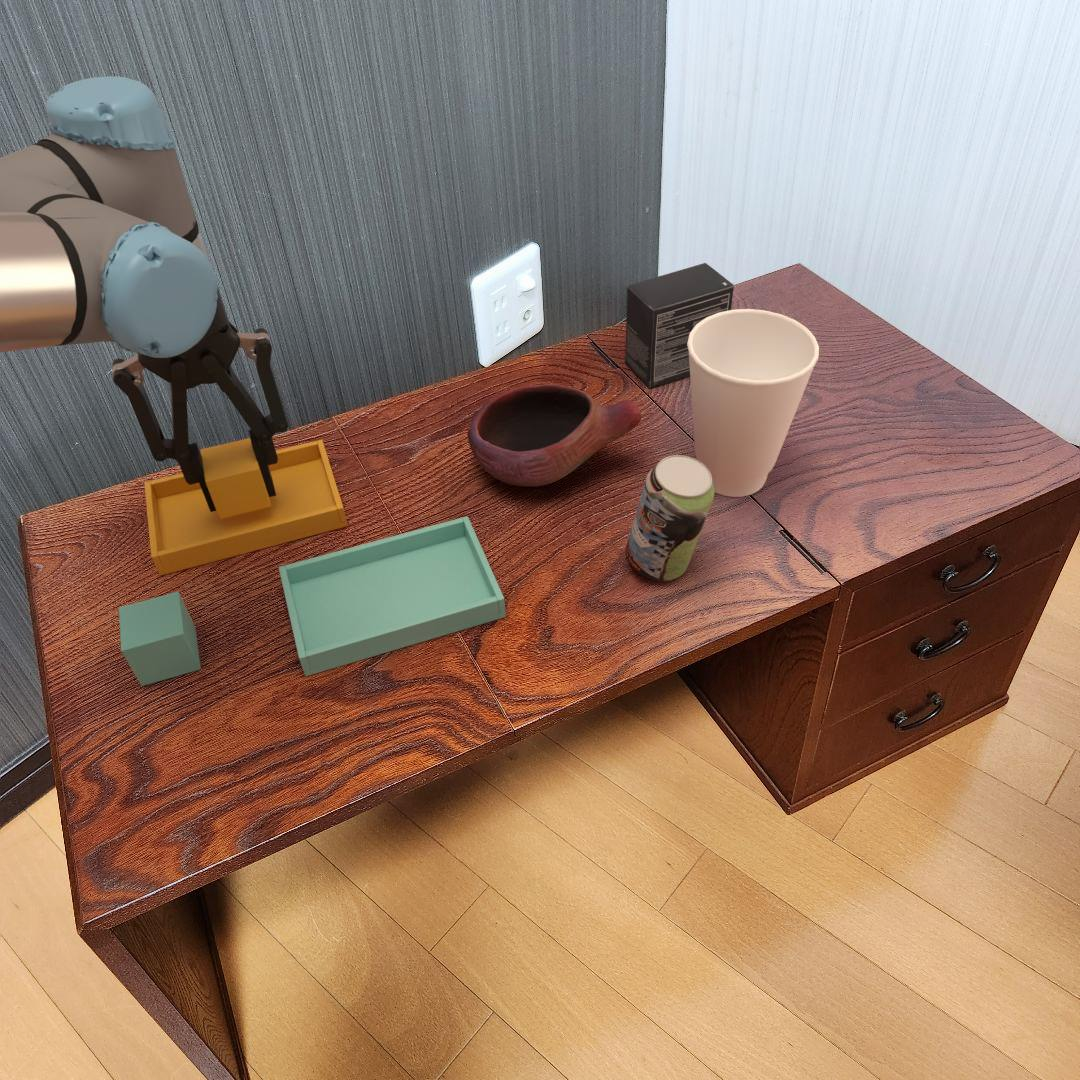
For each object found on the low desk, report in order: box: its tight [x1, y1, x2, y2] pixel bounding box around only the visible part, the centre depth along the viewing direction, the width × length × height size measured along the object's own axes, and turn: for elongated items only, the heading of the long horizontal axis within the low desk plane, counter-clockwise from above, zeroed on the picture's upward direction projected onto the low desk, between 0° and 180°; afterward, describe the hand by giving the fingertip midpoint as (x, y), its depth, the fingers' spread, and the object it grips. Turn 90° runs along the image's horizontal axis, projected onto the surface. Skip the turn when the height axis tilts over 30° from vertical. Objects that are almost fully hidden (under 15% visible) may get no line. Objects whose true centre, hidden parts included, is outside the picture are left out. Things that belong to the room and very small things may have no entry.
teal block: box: [118, 591, 202, 687], centre depth 80 cm, size 5×5×5 cm
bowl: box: [466, 383, 642, 487], centre depth 96 cm, size 16×13×8 cm
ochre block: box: [199, 437, 271, 519], centre depth 91 cm, size 5×5×5 cm
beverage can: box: [625, 454, 715, 582], centre depth 83 cm, size 6×7×12 cm
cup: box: [687, 308, 820, 498], centre depth 90 cm, size 12×12×16 cm
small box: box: [624, 262, 735, 389], centre depth 106 cm, size 11×6×10 cm, turn 115°
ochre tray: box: [143, 439, 349, 576], centre depth 93 cm, size 18×11×3 cm, turn 110°
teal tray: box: [278, 516, 507, 677], centre depth 85 cm, size 18×11×3 cm, turn 110°
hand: (241, 494), depth 92 cm, fingers closed on ochre block, 5 cm apart
